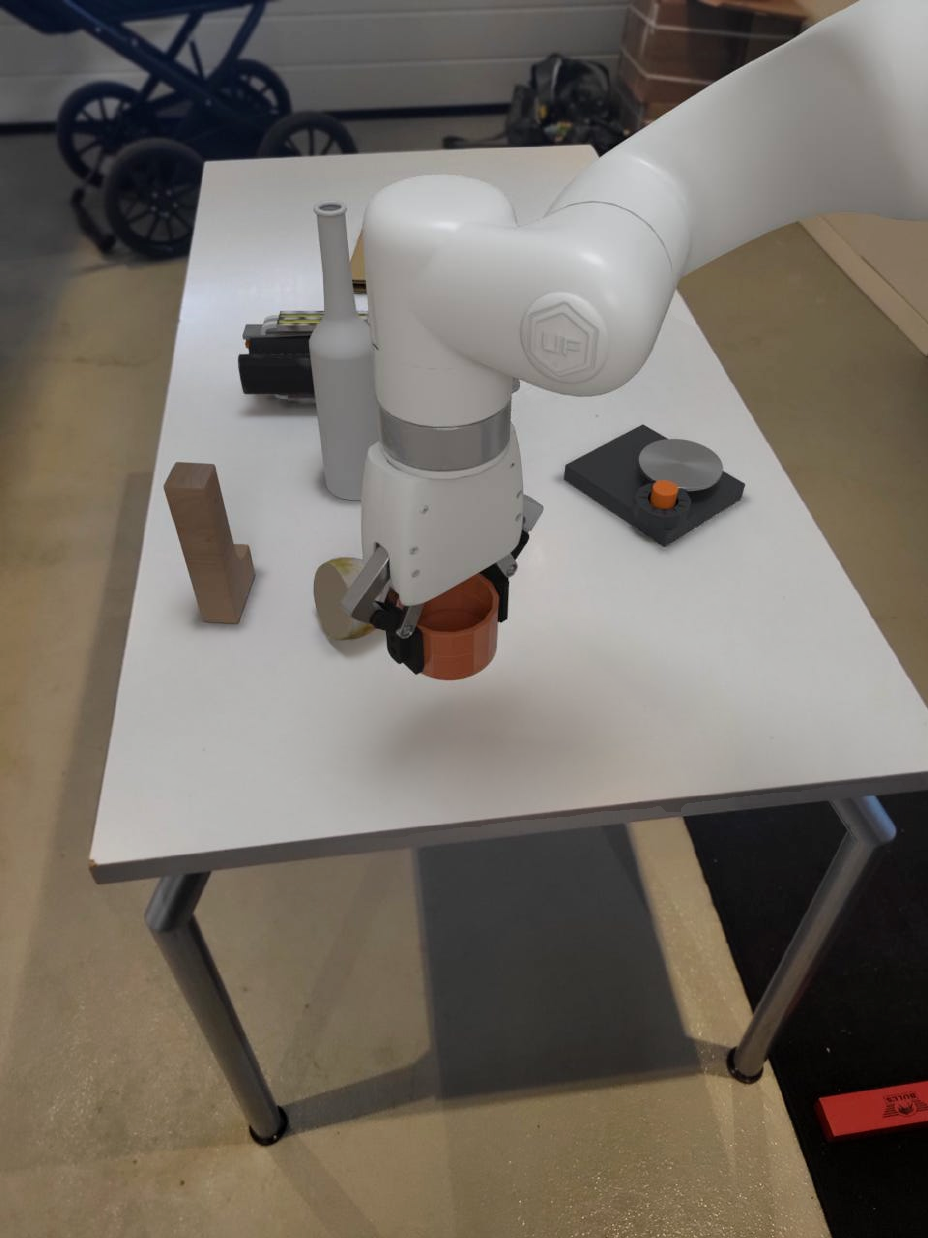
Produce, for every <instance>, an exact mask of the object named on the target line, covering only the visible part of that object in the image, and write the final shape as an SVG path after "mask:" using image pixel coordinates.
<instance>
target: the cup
mask: <svg viewBox="0 0 928 1238" xmlns="http://www.w3.org/2000/svg"><path fill="white" fill-rule="evenodd" d="M398 607H399V608H400V609H401V610H403V607H404V605H403V604H402V603H401V602H400V598H399V601H398ZM498 612H499V595H498V593H497V591H496V589H495V587H494V585H493V583H492V582H491V581H489V580H488V579H487V578H486V577H484V576H483V575H482V574H481V573H477V574H475V575H474V576H472V577H470V578H468V579H467V580H465V581H463V582H461V583H460V584H458V585H456V586H454V587H453V588H451V589H449V590H447V591H445V592H444V593H442V594H440V595H438V596H436V597H435V598H433V599H431V600H429V601H427V602H425V604H424V606H423V609H422V611H421V614H420V617H419V619H418V622H417V624H416V626H417V627H418V628H419V629H420V630H421V631H422V634H423V647H424V666H425V667H424V669H423V671H422V672H421V673H420V674H421V675H422V676H424V677H425V676H426V677H428V678H431V679H434V680H439V681H459V680H464V679H467V678H471V677H473V676H475V675H477V674H479V673H481V672H483V670H485V669H486V668H487V667H488V666H490V664H491V662H492V661H493V659H494V658H495V656H496V653H497V649H498V636H499V622H498Z"/></svg>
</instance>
